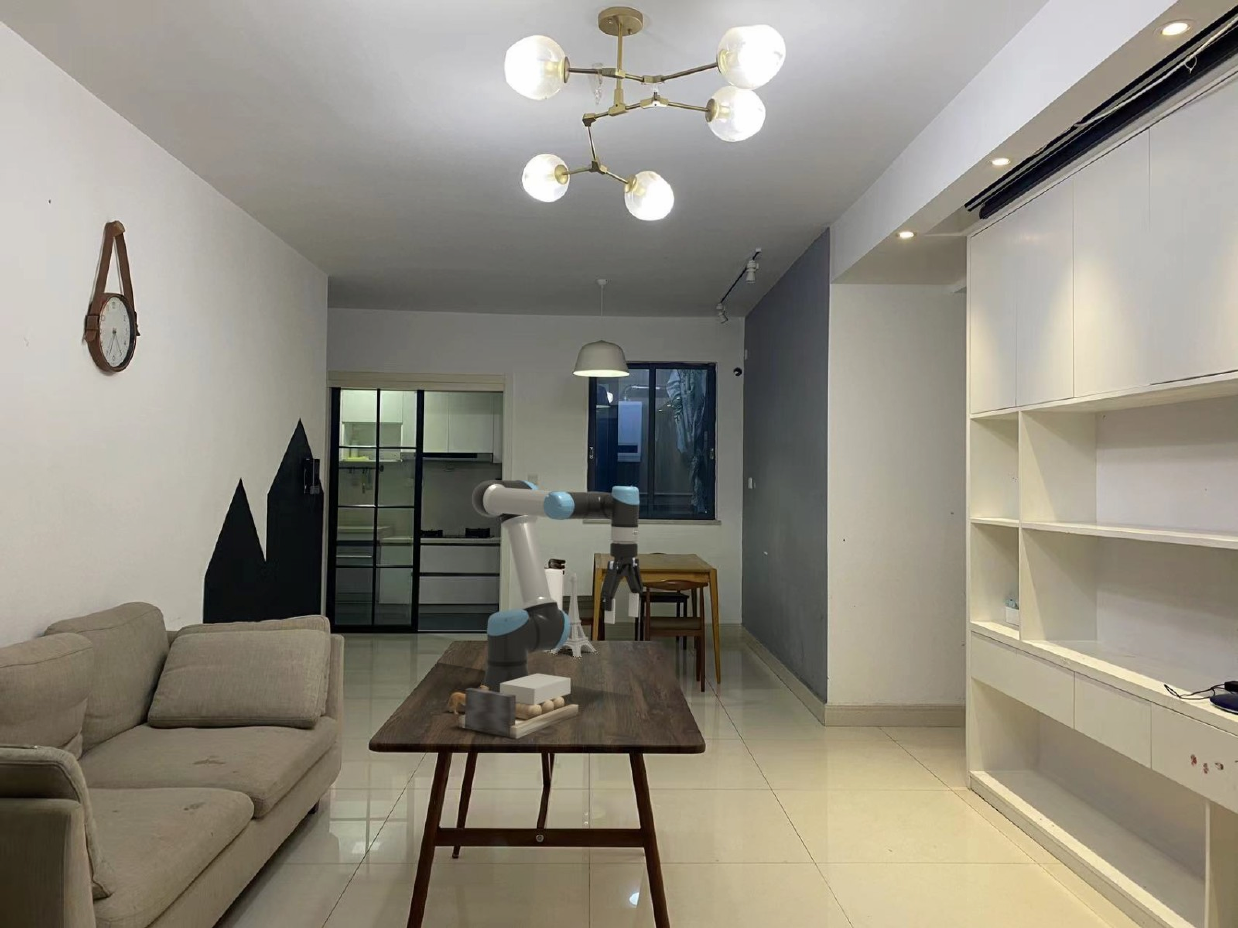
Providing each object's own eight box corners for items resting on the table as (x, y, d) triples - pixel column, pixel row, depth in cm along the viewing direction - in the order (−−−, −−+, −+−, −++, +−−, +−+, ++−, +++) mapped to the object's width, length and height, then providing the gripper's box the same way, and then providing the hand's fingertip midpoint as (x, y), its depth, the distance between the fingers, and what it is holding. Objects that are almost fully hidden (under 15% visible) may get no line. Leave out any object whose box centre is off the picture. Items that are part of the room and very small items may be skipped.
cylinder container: (532, 652, 307) (533, 569, 308) (541, 647, 316) (542, 567, 318) (557, 653, 305) (558, 570, 306) (564, 649, 314) (566, 568, 315)
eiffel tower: (578, 660, 294) (579, 573, 295) (547, 656, 301) (548, 571, 302) (598, 654, 306) (599, 571, 307) (568, 650, 313) (569, 569, 314)
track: (458, 727, 208) (459, 688, 209) (523, 705, 230) (523, 670, 231) (516, 738, 199) (517, 698, 199) (578, 714, 221) (578, 678, 221)
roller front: (492, 711, 215) (497, 696, 217) (501, 716, 218) (506, 701, 219) (530, 718, 209) (535, 702, 210) (538, 723, 211) (543, 707, 213)
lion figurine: (489, 711, 223) (490, 683, 224) (487, 716, 219) (488, 687, 219) (444, 711, 223) (444, 683, 223) (441, 716, 219) (442, 687, 219)
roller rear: (516, 703, 223) (522, 688, 225) (524, 708, 226) (529, 694, 228) (553, 709, 217) (558, 694, 219) (561, 715, 220) (566, 700, 222)
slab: (499, 699, 216) (500, 683, 217) (536, 688, 230) (537, 673, 230) (534, 705, 211) (534, 688, 211) (570, 693, 224) (570, 678, 225)
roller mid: (505, 705, 219) (511, 691, 221) (512, 712, 222) (518, 698, 224) (542, 712, 213) (548, 697, 215) (549, 719, 216) (555, 705, 218)
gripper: (613, 545, 219) (611, 627, 219) (656, 540, 241) (654, 615, 241) (589, 543, 223) (586, 624, 223) (633, 539, 245) (631, 612, 245)
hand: (621, 619), depth 232 cm, fingers open, 13 cm apart
